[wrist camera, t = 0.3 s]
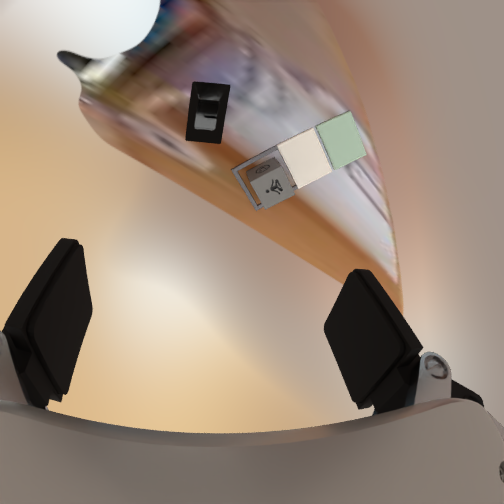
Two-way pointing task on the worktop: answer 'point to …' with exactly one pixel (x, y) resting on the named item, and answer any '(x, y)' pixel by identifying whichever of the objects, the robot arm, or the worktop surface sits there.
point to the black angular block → (207, 112)
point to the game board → (315, 152)
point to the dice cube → (270, 183)
